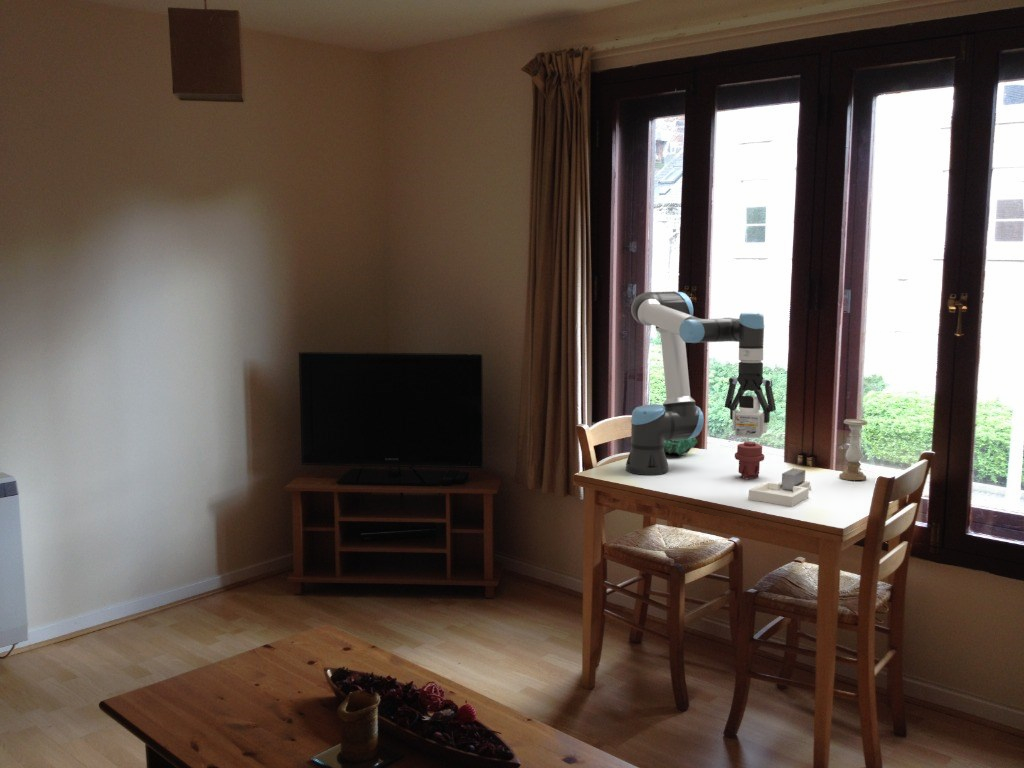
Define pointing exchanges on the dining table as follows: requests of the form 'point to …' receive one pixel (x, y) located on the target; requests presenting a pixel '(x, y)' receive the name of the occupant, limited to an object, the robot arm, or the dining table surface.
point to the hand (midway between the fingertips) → (749, 431)
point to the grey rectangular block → (793, 478)
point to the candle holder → (853, 451)
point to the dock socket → (779, 493)
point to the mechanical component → (749, 459)
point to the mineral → (679, 445)
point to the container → (748, 418)
